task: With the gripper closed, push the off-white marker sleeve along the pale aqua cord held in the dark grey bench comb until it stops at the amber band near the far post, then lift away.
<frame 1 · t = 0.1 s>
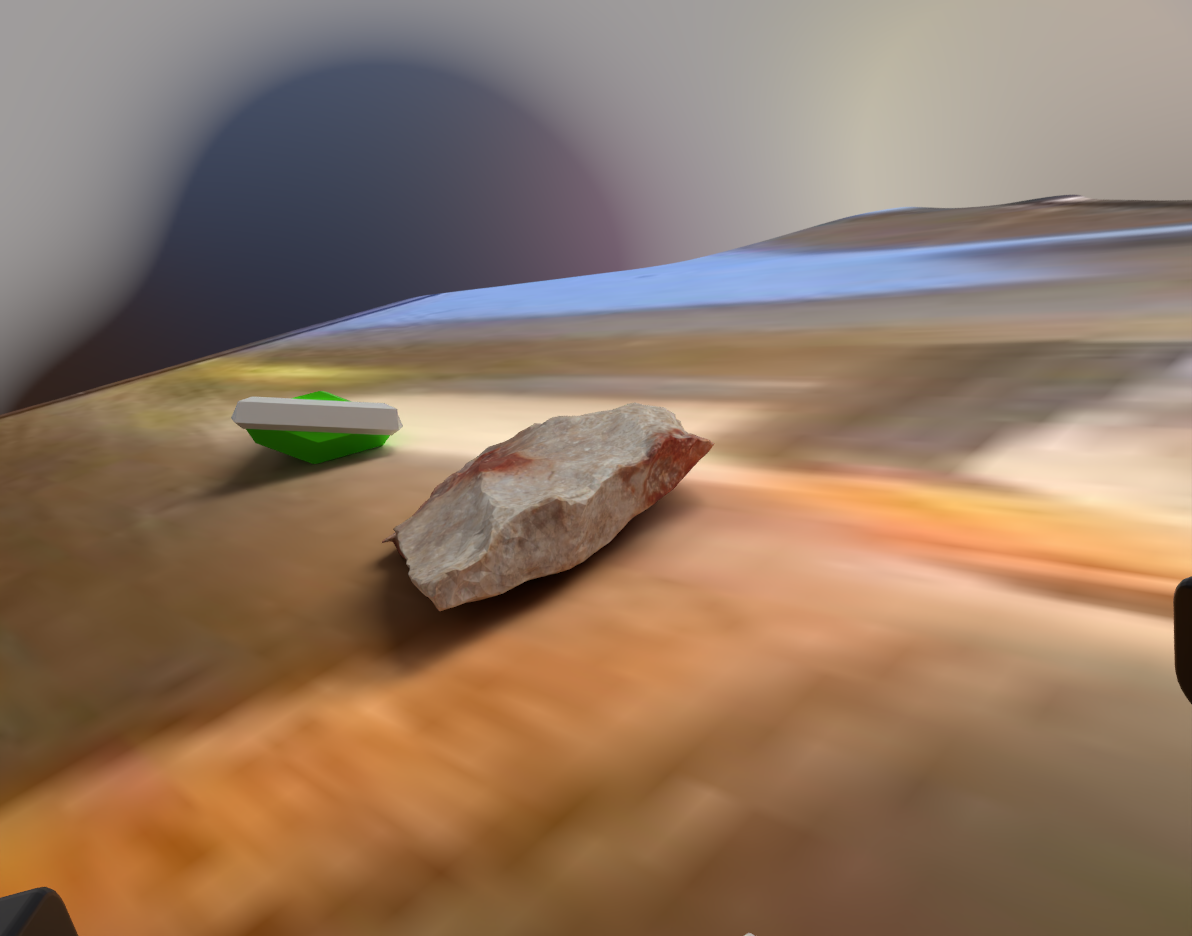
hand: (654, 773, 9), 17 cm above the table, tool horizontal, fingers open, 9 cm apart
stone: (541, 543, 57), on the table
green wedge: (312, 441, 85), on the table
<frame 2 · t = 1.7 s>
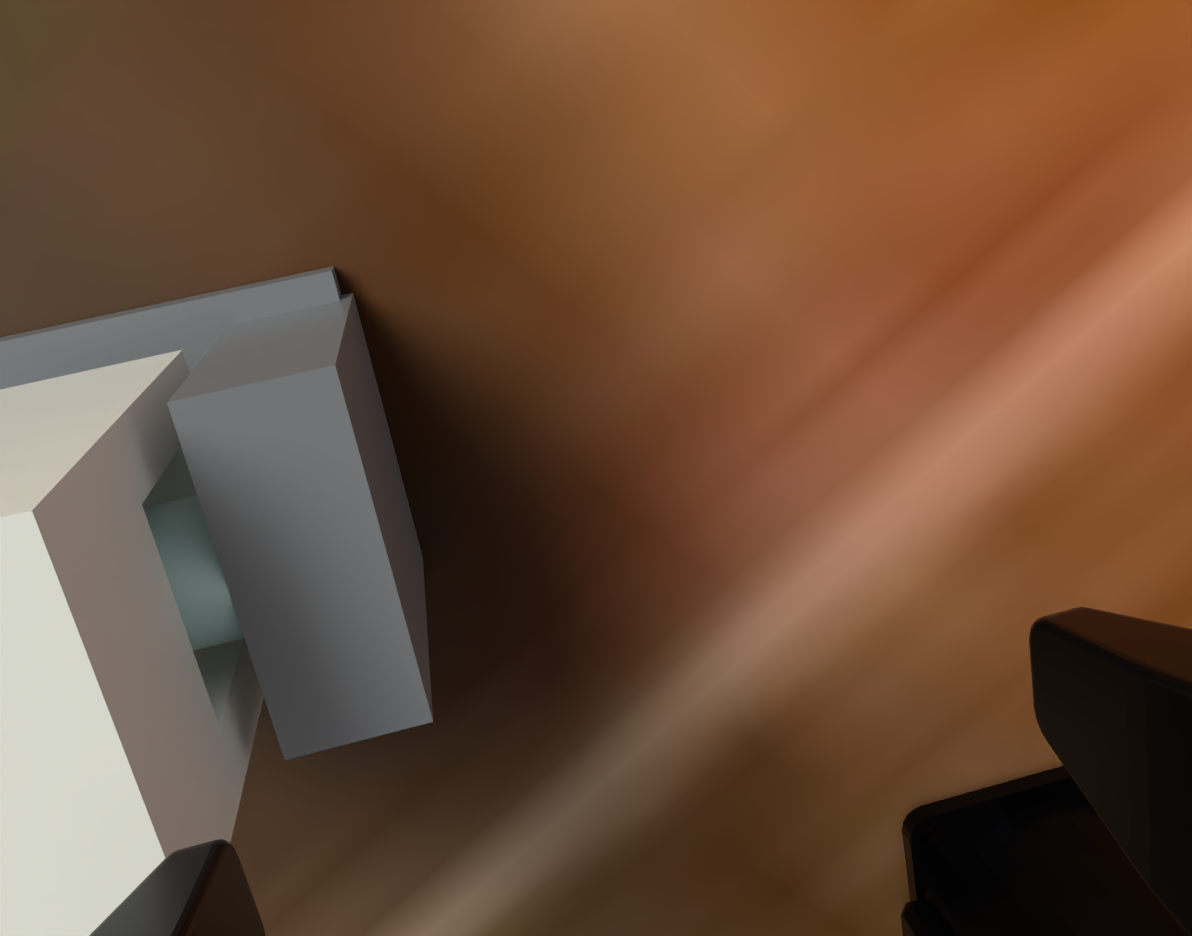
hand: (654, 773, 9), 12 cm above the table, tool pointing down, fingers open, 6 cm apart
sleeve: (69, 626, 14), point 6 cm above the table, slide at 0.0 cm
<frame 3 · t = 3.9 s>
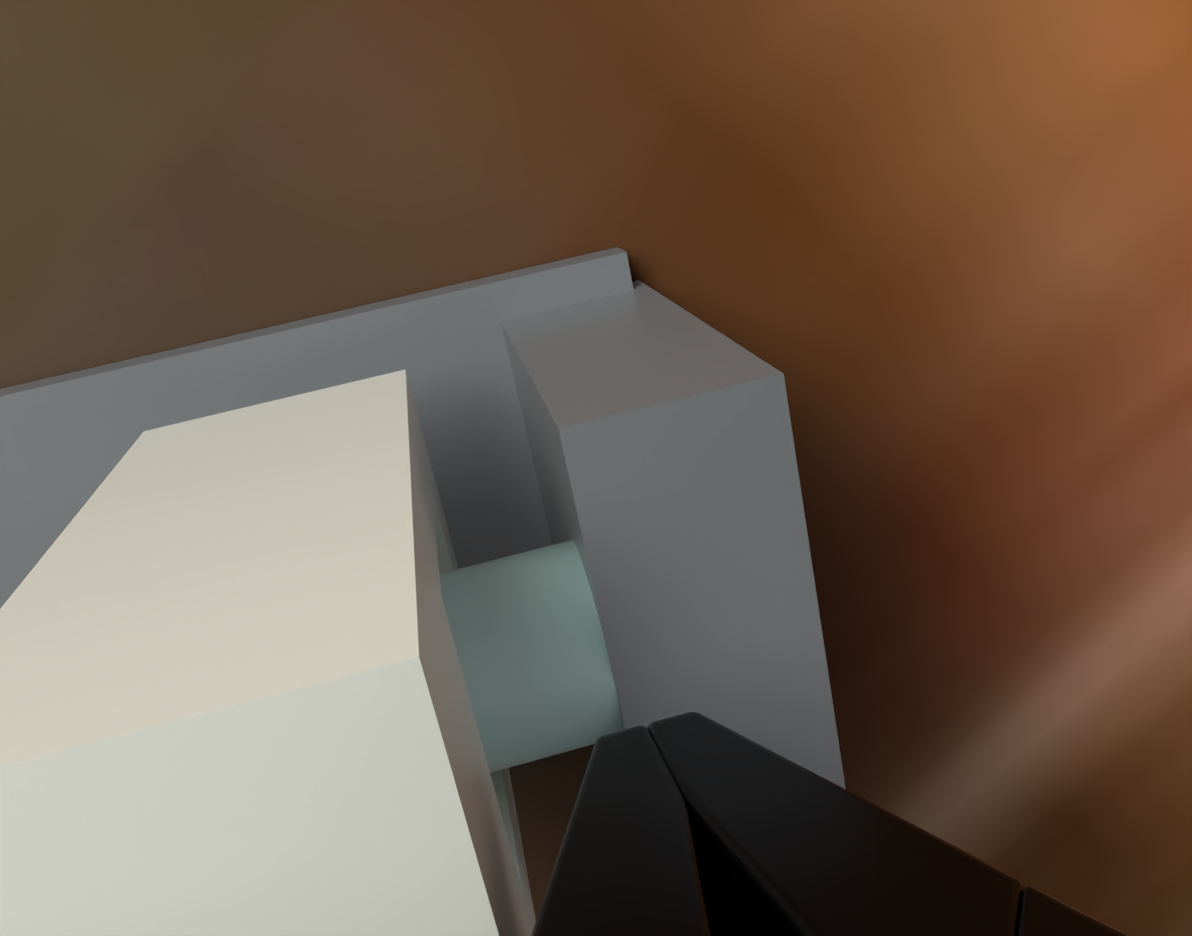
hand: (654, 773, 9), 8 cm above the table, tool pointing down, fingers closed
sleeve: (316, 756, 10), point 6 cm above the table, slide at 0.8 cm, touching gripper
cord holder: (14, 613, 15), on the table
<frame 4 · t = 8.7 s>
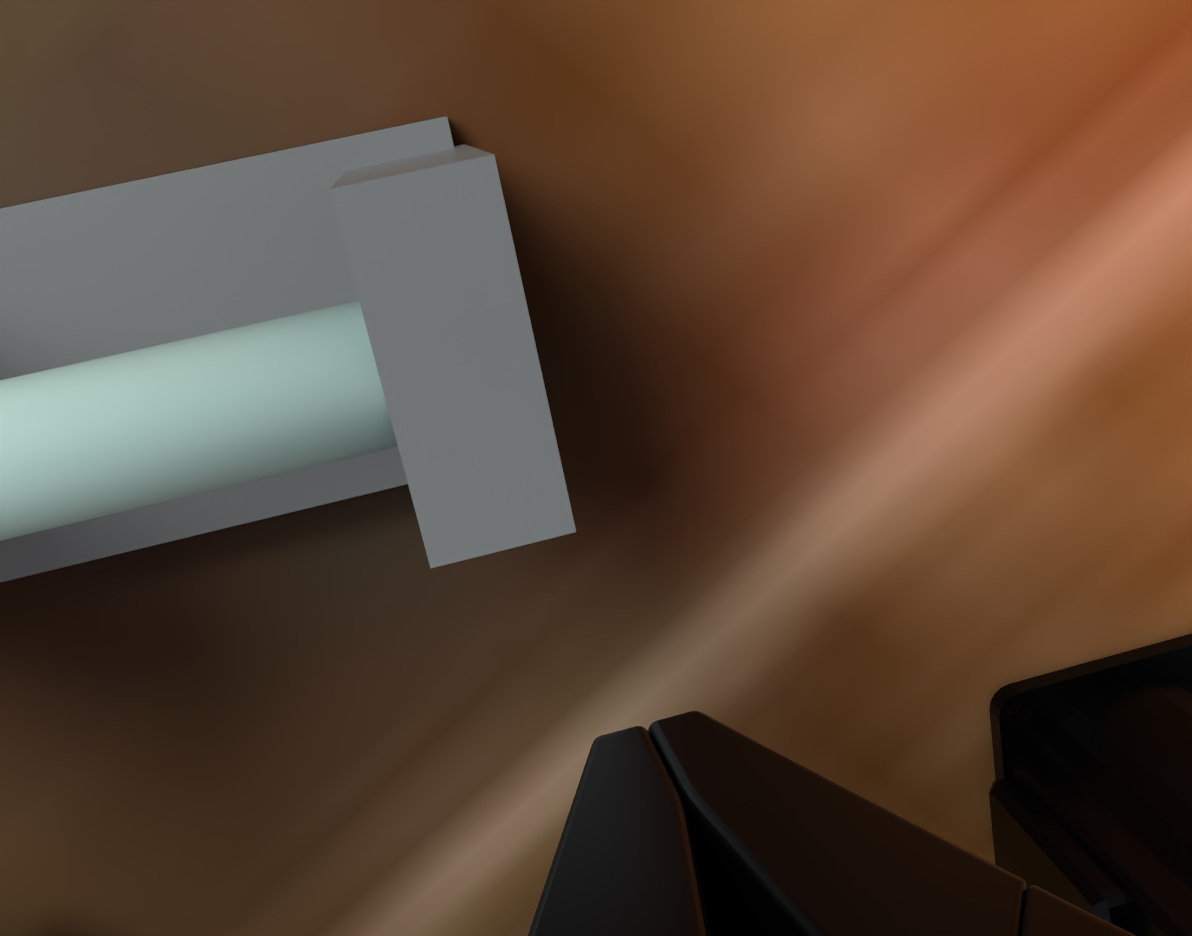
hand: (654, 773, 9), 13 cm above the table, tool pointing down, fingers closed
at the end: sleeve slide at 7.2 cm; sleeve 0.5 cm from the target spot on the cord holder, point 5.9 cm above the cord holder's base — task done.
